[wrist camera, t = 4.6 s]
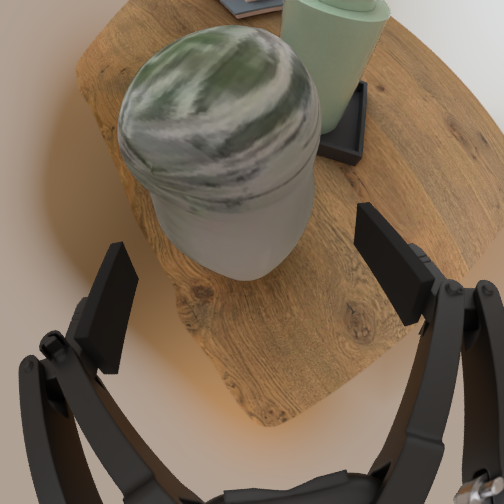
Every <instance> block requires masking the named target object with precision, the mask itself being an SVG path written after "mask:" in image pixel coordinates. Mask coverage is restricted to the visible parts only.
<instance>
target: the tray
mask: <svg viewBox="0 0 504 504" xmlns="http://www.w3.org/2000/svg"><path fill="white" fill-rule="evenodd" d="M366 104H367V83H366V82H364V81H361V80H360V81H359V84H358V86H357V88H356V90H355V92H354V94H353V96H352V98H351V100H350V102H349V104H348V106H347V108H346V111H345V113H344V115H343V117H342V119H341V121H340V123H339V124H338V126H337V127H336V128H335V129H334V130H332V131H331V132H329V133H326V134H322V135H320V142H319V146H318V150H317V155H320V156H324V157H327V158H331V159H334V160H337V161H340V162H344V163H347V164H350V165H353V166H356V164H357V163H358V162H359V160H360V159H361V158H362V152H363V143H364V131H365V119H366Z"/></svg>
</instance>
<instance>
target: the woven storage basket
mask: <svg viewBox="0 0 504 504" xmlns="http://www.w3.org/2000/svg"><path fill="white" fill-rule="evenodd" d="M219 1H220V2H221V3H222V4H223V5H224V6H225V7H226V8H227V9H228V10H229V11H230V12H231V13H232V14H233V15H234V16H235V17H236V18H237V19H240V18H244V17H248V16H253V15H257V14H262V13H267V12H272V11H278V10H282V7H283V0H219Z"/></svg>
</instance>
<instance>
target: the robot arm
mask: <svg viewBox="0 0 504 504" xmlns="http://www.w3.org/2000/svg"><path fill="white" fill-rule="evenodd" d="M354 245H355V247H356V248H357V250H358V251H359V253H360V254H361V256H362V257H363V259H364V260H365V262H366V263H367V265H368V267H369V268H370V270H371V271H372V273H373V274H374V276H375V278H376V279H377V281H378V282H379V284H380V286H381V287H382V289H383V290H384V292H385V294H386V295H387V297H388V299H389V300H390V302H391V304H392V305H393V307H394V309H395V310H396V312H397V314H398V316H399V317H400V319H401V321H402V323H403V324H404V326H408V325H411V324H414V323H417V322H418V321H419V319H420V316H421V314H422V315H423V316H424V318H425V321H424V324H423V326H422V328H421V330H420V332H419V334H420V335H421V336H420V340H419V344H418V348H417V352H416V356H415V360H414V363H413V367H412V370H411V373H410V377H409V380H408V383H407V386H406V389H405V393H404V395H403V398H402V401H401V404H400V407H399V409H398V412H397V415H396V418H395V420H394V423H393V425H392V428H391V430H390V432H389V435H388V437H387V439H386V442H385V444H384V447H383V448H382V450H381V452H380V454H379V455H378V457H377V458H376V460H375V461H374V463H373V465H372V467H371V468H370V471H369V472H368V474H367V475H366V474H361V473H347V470H343V471H339V472H335V473H332V474H328V475H324V476H320V477H316V478H314V479H312V480H310V481H308V482H306V483H303V484H302V485H299V486H297V487H294V488H292V489H290V490H269V489H257V488H250V489H239V490H226V491H224V494H223V495H219V496H217V497H215V498H213V499H211V500H209V501H207V502H206V503H205V502H203V501H202V500H201V499H200V498H199V497H198V496H197V495H196V494H195V493H193V492H192V491H191V490H189V489H188V488H187V487H185V486H184V485H183V484H182V483H181V482H180V481H179V480H178V479H177V478H176V477H175V476H174V475H173V474H172V473H171V472H170V471H169V469H168V468H167V467H166V466H165V465H164V464H163V463H162V462H161V461H160V460H159V458H158V457H157V456H156V455H155V454H154V452H153V451H152V450H151V449H150V448H149V446H148V445H147V444H146V443H145V442H144V440H143V439H142V438H141V437H140V435H139V434H138V433H137V431H136V430H135V429H134V427H133V426H132V425H131V423H130V422H129V421H128V419H127V418H126V417H125V415H124V414H123V412H122V411H121V410H120V408H119V407H118V405H117V404H116V402H115V401H114V399H113V398H112V396H111V395H110V393H109V392H108V390H107V389H106V387H105V386H104V384H103V382H102V381H101V379H100V378H99V377H98V376H97V370H98V368H99V369H100V370H101V372H102V373H103V374H118V370H119V365H120V359H121V353H122V349H123V343H124V339H125V334H126V329H127V324H128V320H129V316H130V312H131V308H132V303H133V299H134V295H135V291H136V287H137V284H138V280H139V278H138V276H137V274H136V272H135V269H134V267H133V265H132V263H131V260H130V258H129V256H128V253H127V251H126V249H125V246H124V244H123V242H117V243H112V244H111V245H110V247H109V249H108V251H107V253H106V256H105V258H104V260H103V262H102V264H101V267H100V269H99V271H98V274H97V276H96V279H95V281H94V283H93V286H92V288H91V291H90V293H89V296H88V297H83V298H82V300H81V301H80V302H79V304H78V305H77V307H76V309H75V312H74V315H73V317H72V321H71V322H70V325H69V328H68V331H67V333H66V337H65V338H64V336H63V335H62V334H61V333H60V332H59V331H56V330H55V331H51V332H49V333H47V334H46V335H45V336H44V337H43V339H42V340H41V342H40V345H39V349H40V351H41V352H42V353H43V355H44V356H45V357H46V359H43V360H40V361H39V360H38V359H37V358H36V357H35V356H34V355H29V356H27V357H25V358H24V359H23V360H22V362H21V363H20V366H19V394H20V408H21V418H22V426H23V434H24V441H25V446H26V452H27V458H28V462H29V467H30V471H31V476H32V480H33V484H34V487H35V491H36V494H37V497H38V501H39V504H103V502H102V500H101V498H100V496H99V493H98V491H97V488H96V485H95V483H94V480H93V478H92V475H91V472H90V469H89V467H88V464H87V461H86V458H85V455H84V451H83V448H82V445H81V442H80V438H79V435H78V431H77V428H76V423H75V419H74V417H75V418H76V420H77V422H78V424H79V426H80V428H81V430H82V432H83V433H84V435H85V437H86V438H87V440H88V442H89V443H90V445H91V447H92V449H93V450H94V452H95V454H96V455H97V457H98V458H99V460H100V462H101V463H102V465H103V466H104V468H105V469H106V470H107V472H108V474H109V475H110V477H111V478H112V479H113V481H114V482H115V484H116V485H117V486H118V487H119V489H120V490H121V492H122V493H123V495H124V498H123V502H124V504H424V502H425V500H426V498H427V496H428V493H429V491H430V489H431V486H432V484H433V481H434V479H435V476H436V474H437V471H438V468H439V466H440V462H441V460H442V457H443V453H444V449H445V448H444V444H443V442H442V437H443V433H444V430H445V426H446V423H447V419H448V415H449V411H450V407H451V402H452V398H453V393H454V389H455V383H456V377H457V371H458V365H459V360H460V352H461V356H462V366H463V379H464V380H463V381H464V405H465V408H464V411H465V416H464V446H463V458H462V483H463V485H462V486H461V488H460V489H459V491H458V493H456V495H455V496H454V499H453V501H454V504H504V307H503V304H502V301H501V297H500V295H499V291H498V289H497V288H496V286H495V285H494V284H493V283H491V282H490V281H487V280H480V281H479V282H478V283H477V285H476V288H463V286H462V285H461V284H460V283H459V282H457V281H455V280H451V279H446V278H445V276H444V275H443V274H442V273H441V271H440V270H439V269H438V268H437V267H436V265H435V264H434V263H433V262H431V259H430V258H429V257H428V256H427V255H426V253H425V252H424V251H423V250H422V249H421V248H420V247H418V246H417V245H415V244H413V243H411V244H407V243H406V242H405V241H404V239H403V238H402V237H401V236H400V235H399V234H398V233H397V231H396V230H395V229H394V228H393V227H392V226H391V225H390V224H389V223H388V222H387V220H386V219H385V218H384V217H383V216H382V215H381V214H380V213H379V212H378V211H377V210H376V209H375V208H374V207H373V205H372V204H371V203H370V202H366V203H358V204H357V215H356V226H355V236H354Z"/></svg>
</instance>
